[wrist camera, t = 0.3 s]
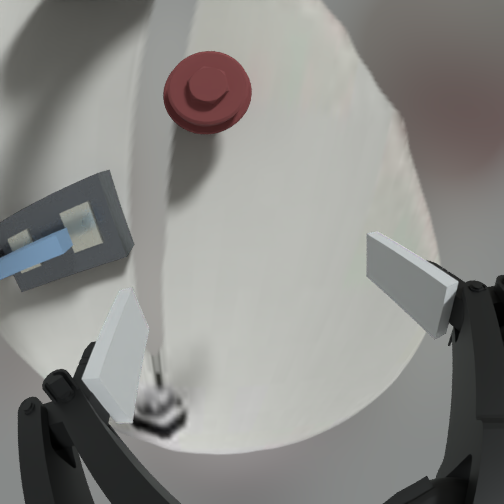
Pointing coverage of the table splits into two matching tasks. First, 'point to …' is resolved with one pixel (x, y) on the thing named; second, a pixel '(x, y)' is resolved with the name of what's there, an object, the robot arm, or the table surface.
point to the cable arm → (35, 253)
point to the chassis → (71, 229)
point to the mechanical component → (207, 93)
